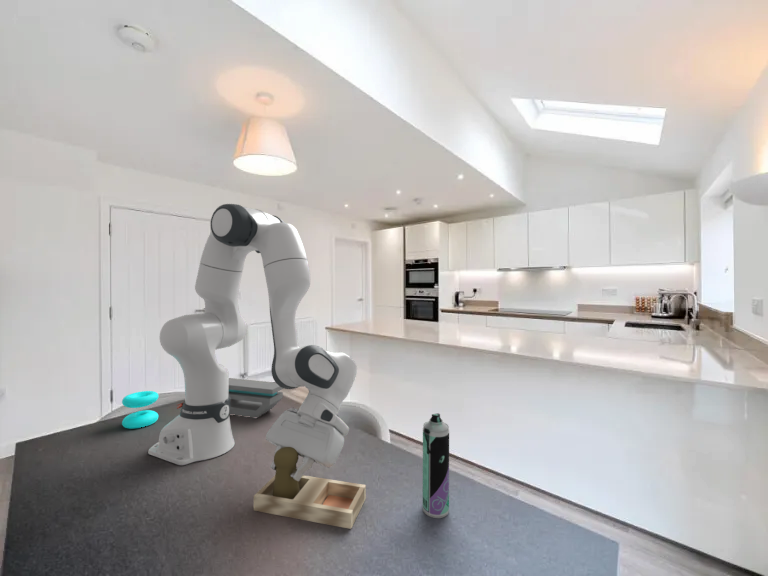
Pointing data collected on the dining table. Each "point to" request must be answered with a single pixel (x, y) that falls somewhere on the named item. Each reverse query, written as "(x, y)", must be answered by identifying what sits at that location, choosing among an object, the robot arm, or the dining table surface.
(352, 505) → the socket rail
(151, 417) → the donuts
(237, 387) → the grey lidded container
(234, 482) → the dining table surface
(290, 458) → the olive round-headed peg
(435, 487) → the spray can
